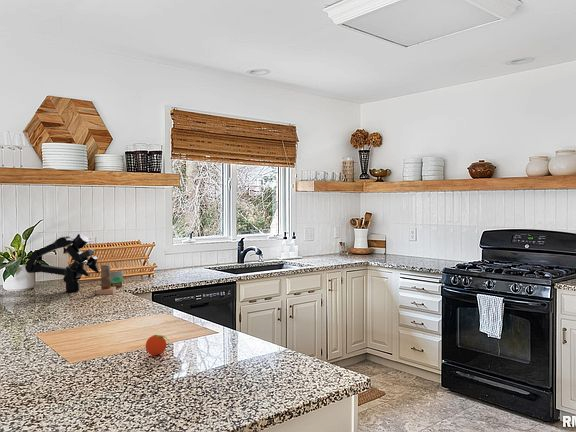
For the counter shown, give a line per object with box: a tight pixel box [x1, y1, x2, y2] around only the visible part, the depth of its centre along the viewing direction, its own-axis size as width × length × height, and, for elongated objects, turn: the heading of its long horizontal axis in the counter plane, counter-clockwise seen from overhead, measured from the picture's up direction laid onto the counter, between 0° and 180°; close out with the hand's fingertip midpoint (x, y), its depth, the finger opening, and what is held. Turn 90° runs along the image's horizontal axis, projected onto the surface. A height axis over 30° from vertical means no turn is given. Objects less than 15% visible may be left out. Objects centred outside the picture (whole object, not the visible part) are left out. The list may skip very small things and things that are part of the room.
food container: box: [110, 269, 125, 289], centre depth 298 cm, size 12×6×10 cm, turn 143°
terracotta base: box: [95, 286, 117, 295], centre depth 283 cm, size 9×9×2 cm
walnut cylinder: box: [100, 264, 111, 289], centre depth 283 cm, size 5×5×13 cm
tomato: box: [145, 334, 170, 356], centre depth 172 cm, size 8×7×7 cm
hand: (93, 274), depth 284 cm, fingers open, 9 cm apart
